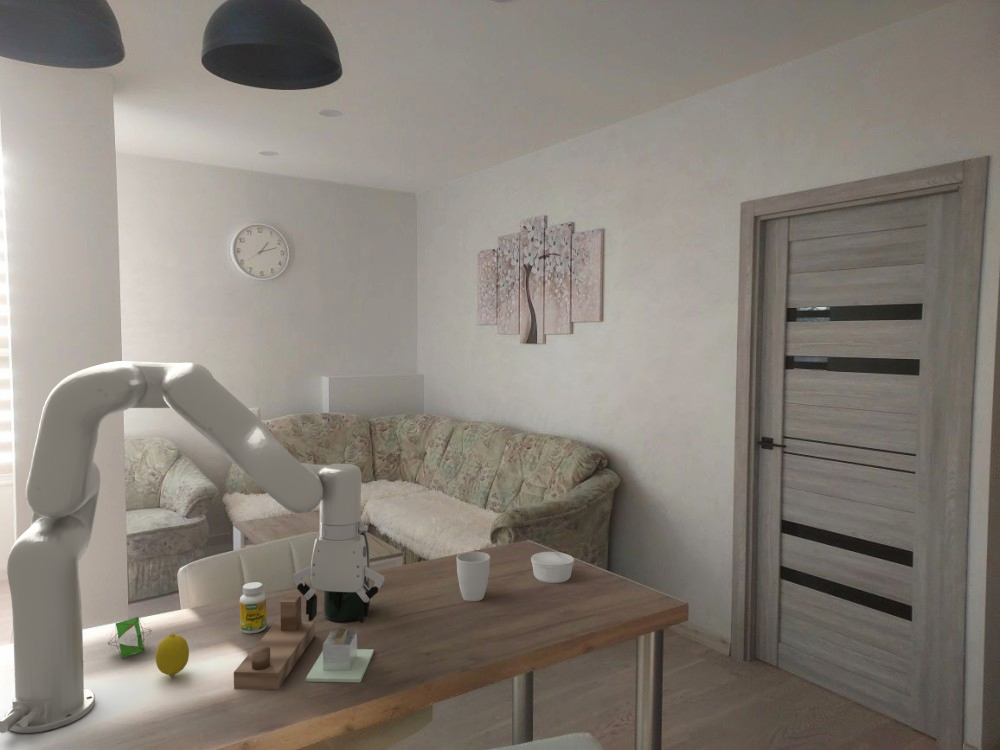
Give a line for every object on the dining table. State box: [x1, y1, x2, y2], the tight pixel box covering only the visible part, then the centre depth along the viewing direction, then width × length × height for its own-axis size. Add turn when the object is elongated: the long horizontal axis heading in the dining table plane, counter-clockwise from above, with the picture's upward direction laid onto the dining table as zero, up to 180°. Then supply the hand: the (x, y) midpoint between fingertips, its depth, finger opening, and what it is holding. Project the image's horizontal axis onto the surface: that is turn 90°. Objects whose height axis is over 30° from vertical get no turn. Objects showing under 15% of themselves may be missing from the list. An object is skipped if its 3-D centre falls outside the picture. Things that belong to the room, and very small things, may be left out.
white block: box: [322, 628, 358, 671], centre depth 132 cm, size 6×5×6 cm
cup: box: [456, 551, 491, 602], centre depth 167 cm, size 8×8×10 cm
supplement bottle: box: [239, 581, 268, 635], centre depth 148 cm, size 5×5×10 cm
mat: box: [305, 648, 375, 683], centre depth 132 cm, size 12×10×1 cm
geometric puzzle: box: [107, 616, 153, 659], centre depth 137 cm, size 7×7×8 cm
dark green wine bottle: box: [322, 518, 371, 622], centre depth 156 cm, size 10×10×33 cm
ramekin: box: [530, 551, 575, 584], centre depth 182 cm, size 11×11×5 cm
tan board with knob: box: [233, 594, 315, 690], centre depth 134 cm, size 22×8×9 cm, turn 179°
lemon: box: [155, 633, 190, 678], centre depth 128 cm, size 6×6×8 cm
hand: (337, 619), depth 131 cm, fingers open, 9 cm apart
